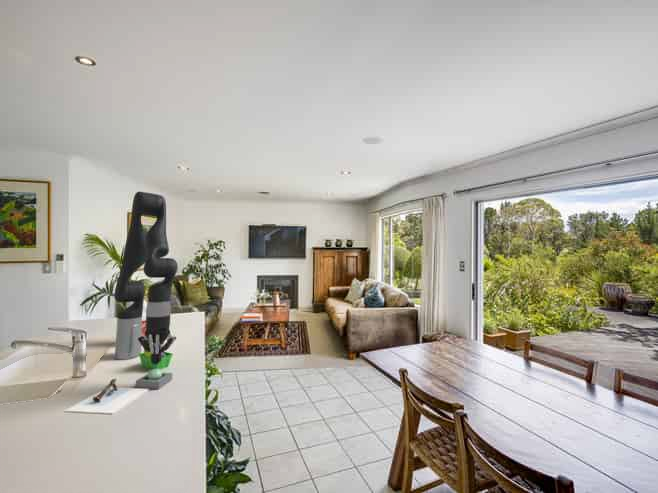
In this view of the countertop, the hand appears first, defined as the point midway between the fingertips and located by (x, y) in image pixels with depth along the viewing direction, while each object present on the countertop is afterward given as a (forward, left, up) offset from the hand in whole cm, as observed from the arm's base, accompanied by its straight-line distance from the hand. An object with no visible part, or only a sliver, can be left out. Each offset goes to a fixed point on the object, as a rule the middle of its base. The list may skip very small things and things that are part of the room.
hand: (155, 363), depth 104 cm
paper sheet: (+12, -6, -7) cm, 15 cm away
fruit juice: (-45, -39, -7) cm, 60 cm away
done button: (0, 0, -6) cm, 6 cm away
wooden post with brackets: (+12, -8, -7) cm, 16 cm away
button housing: (0, 0, -7) cm, 7 cm away
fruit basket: (-16, -10, -7) cm, 20 cm away
